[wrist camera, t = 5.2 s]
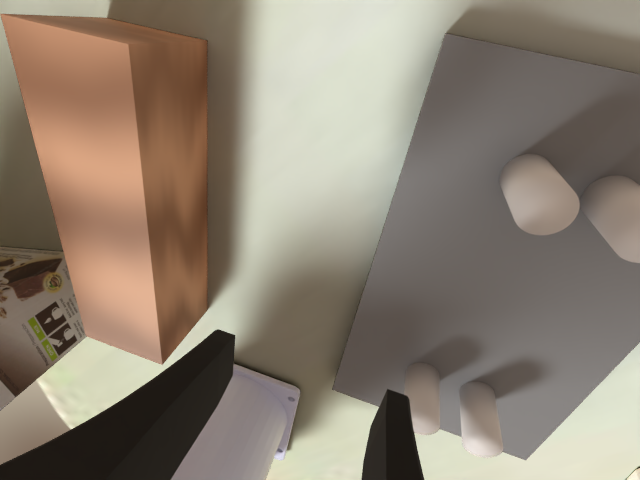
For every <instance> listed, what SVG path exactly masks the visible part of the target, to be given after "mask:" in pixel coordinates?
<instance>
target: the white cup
mask: <svg viewBox="0 0 640 480" xmlns="http://www.w3.org/2000/svg"><path fill="white" fill-rule="evenodd" d="M626 480H640V468H639V469H636V470H635V471H634V472H633V473H632V474H631V475H630V476H629V477H628V478H627V479H626Z"/></svg>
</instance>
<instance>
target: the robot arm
mask: <svg viewBox="0 0 640 480" xmlns="http://www.w3.org/2000/svg"><path fill="white" fill-rule="evenodd" d="M234 346H235V335H233V334H230V333H227V332H224V331H221V330H215V331H214V332H213V333H212V334H210V335H209V336H208V337H207V338H206V339H204V340H203V341H202V342H201V343H200V344H198V345H197V346H196V347H195V348H193V349H192V350H191V351H190V352H188V353H187V354H186V355H184V356H183V357H182V358H181V359H179V360H178V361H177V362H175V363H174V364H173V365H171V366H170V367H169V368H167V369H166V370H165V371H163V372H162V373H160V374H159V375H158V376H156V377H155V378H154V379H152V380H151V381H149V382H148V383H146V384H145V385H143V386H142V387H140V388H139V389H137V390H136V391H134V392H133V393H132V394H130V395H129V396H127V397H126V398H124V399H122V400H121V401H119V402H118V403H116V404H115V405H113V406H111V407H110V408H108V409H106V410H105V411H103V412H101V413H100V414H98V415H96V416H95V417H93V418H91V419H89V420H88V421H86V422H84V423H82V424H80V425H79V426H77V427H75V428H73V429H71V430H70V431H68V432H66V433H64V434H62V435H60V436H59V437H57V438H55V439H53V440H51V441H49V442H47V443H45V444H43V445H41V446H39V447H37V448H35V449H33V450H31V451H28V452H26V453H24V454H22V455H20V456H18V457H16V458H14V459H12V460H10V461H7V462H5V463H3V464H1V465H0V480H266V477H267V475H268V472H269V469H270V467H271V464H272V462H273V459H274V458H275V459H277V460H283V459H284V458H285V455H286V451H287V447H288V442H289V438H290V434H291V430H292V426H293V422H294V418H295V414H296V409H297V405H298V401H299V397H300V390H299V389H298V388H297V387H295V386H293V385H290V384H287V383H285V382H282V381H279V380H277V379H274V378H271V377H269V376H266V375H263V374H260V373H258V372H255V371H252V370H250V369H247V368H244V367H241V366H239V365H236V364H234ZM362 480H424V477H423V473H422V468H421V464H420V460H419V455H418V451H417V446H416V440H415V435H414V429H413V423H412V417H411V409H410V399H409V398H408V396H407V395H404V394H401V393H398V392H395V391H392V390H389V389H387V391H386V393H385V395H384V397H383V400H382V402H381V404H380V407H379V409H378V411H377V413H376V416H375V418H374V420H373V423H372V425H371V428H370V433H369V438H368V442H367V447H366V452H365V457H364V463H363V472H362Z"/></svg>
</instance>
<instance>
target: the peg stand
mask: <svg viewBox="0 0 640 480" xmlns="http://www.w3.org/2000/svg"><path fill="white" fill-rule="evenodd" d="M639 342H640V74H637V73H632V72H627V71H622V70H618V69H613V68H608V67H603V66H599V65H594V64H589V63H584V62H580V61H575V60H570V59H565V58H561V57H556V56H551V55H547V54H542V53H537V52H532V51H528V50H523V49H518V48H513V47H509V46H504V45H499V44H494V43H490V42H485V41H480V40H475V39H471V38H466V37H461V36H456V35H452V34H447V33H445V36H444V39H443V42H442V45H441V48H440V51H439V55H438V58H437V61H436V64H435V67H434V70H433V73H432V77H431V80H430V83H429V86H428V89H427V92H426V95H425V99H424V102H423V105H422V108H421V111H420V114H419V117H418V121H417V124H416V127H415V130H414V133H413V136H412V139H411V143H410V146H409V149H408V152H407V155H406V158H405V162H404V165H403V168H402V171H401V174H400V177H399V180H398V184H397V187H396V190H395V193H394V196H393V199H392V202H391V206H390V209H389V212H388V215H387V218H386V221H385V224H384V228H383V231H382V234H381V237H380V240H379V243H378V246H377V250H376V253H375V256H374V259H373V262H372V265H371V268H370V272H369V275H368V278H367V281H366V284H365V287H364V290H363V294H362V297H361V300H360V303H359V306H358V309H357V312H356V316H355V319H354V322H353V325H352V328H351V331H350V334H349V338H348V341H347V344H346V347H345V350H344V353H343V356H342V360H341V363H340V366H339V369H338V372H337V375H336V379H335V382H334V385H333V389H332V390H335V391H337V392H340V393H343V394H346V395H348V396H351V397H354V398H357V399H359V400H362V401H365V402H368V403H370V404H373V405H376V406H379V407H380V404H381V402H382V400H383V397H384V395H385V393H386V391H387V389H389V390H392V391H395V392H398V393H401V394H404V395H407V396H408V398H409V399H410V409H411V417H412V423H413V429H414V433H416V434H421V435H431V434H434V433H436V432H437V431H438V430H439V429H442V430H444V431H447V432H450V433H453V434H455V435H458V436H461V437H462V445H463V447H464V448H465V449H466V450H467V451H468V452H469V453H471V454H473V455H476V456H479V457H495V456H497V455H499V454H501V453H502V452H505V453H507V454H510V455H513V456H516V457H518V458H521V459H524V460H527V459H528V457H529V456H530V455H531V454H532V453H533V452H534V451H535V450H536V449H537V448H538V447H539V446H540V445H541V444H542V443H543V442H544V441H545V440H546V439H547V438H548V437H549V436H550V435H551V434H552V433H553V432H554V431H555V430H556V428H557V427H558V426H559V425H560V424H561V423H562V422H563V421H564V420H565V419H566V418H567V417H568V416H569V415H570V414H571V413H572V412H573V411H574V410H575V409H576V408H577V407H578V406H579V405H580V404H581V403H582V402H583V400H584V399H585V398H586V397H587V396H588V395H589V394H590V393H591V392H592V391H593V390H594V389H595V388H596V387H597V386H598V385H599V384H600V383H601V382H602V381H603V380H604V379H605V378H606V377H607V376H608V375H609V374H610V373H611V371H612V370H613V369H614V368H615V367H616V366H617V365H618V364H619V363H620V362H621V361H622V360H623V359H624V358H625V357H626V356H627V355H628V354H629V353H630V352H631V351H632V350H633V349H634V348H635V347H636V346H637V345H638V344H639Z"/></svg>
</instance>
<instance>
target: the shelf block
mask: <svg viewBox="0 0 640 480" xmlns="http://www.w3.org/2000/svg"><path fill="white" fill-rule="evenodd" d="M1 18H2V22H3V26H4V29H5V33H6V37H7V41H8V44H9V48H10V52H11V56H12V59H13V63H14V67H15V71H16V75H17V78H18V82H19V86H20V90H21V93H22V97H23V101H24V105H25V108H26V112H27V116H28V120H29V124H30V127H31V131H32V135H33V139H34V142H35V146H36V150H37V154H38V157H39V161H40V165H41V169H42V173H43V176H44V180H45V184H46V188H47V191H48V195H49V199H50V203H51V207H52V210H53V214H54V218H55V222H56V225H57V229H58V233H59V237H60V240H61V244H62V248H63V252H64V256H65V259H66V263H67V267H68V271H69V274H70V278H71V282H72V286H73V289H74V293H75V297H76V301H77V305H78V308H79V312H80V316H81V320H82V323H83V327H84V331H85V335H86V336H87V337H90V338H93V339H95V340H98V341H101V342H103V343H106V344H109V345H111V346H114V347H116V348H119V349H122V350H124V351H127V352H130V353H132V354H135V355H138V356H140V357H143V358H145V359H148V360H151V361H153V362H156V363H159V364H161V365H163V363H164V362H165V361H166V360H167V358H168V357H169V356H170V355H171V354H172V352H173V351H174V350H175V349H176V348H177V346H178V345H179V344H180V343H181V341H182V340H183V339H184V338H185V337H186V335H187V334H188V333H189V332H190V331H191V329H192V328H193V327H194V326H195V325H196V323H197V322H198V321H199V320H200V318H201V317H202V316H203V315H204V314H205V312H206V311H207V40H202V39H198V38H193V37H189V36H184V35H180V34H176V33H171V32H167V31H162V30H158V29H154V28H149V27H145V26H140V25H136V24H131V23H127V22H123V21H118V20H114V19H109V18H95V17H69V16H42V15H16V14H1Z"/></svg>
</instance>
